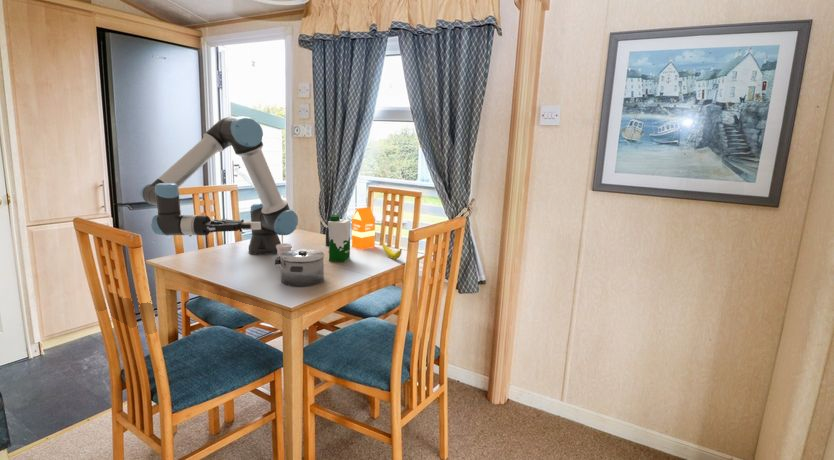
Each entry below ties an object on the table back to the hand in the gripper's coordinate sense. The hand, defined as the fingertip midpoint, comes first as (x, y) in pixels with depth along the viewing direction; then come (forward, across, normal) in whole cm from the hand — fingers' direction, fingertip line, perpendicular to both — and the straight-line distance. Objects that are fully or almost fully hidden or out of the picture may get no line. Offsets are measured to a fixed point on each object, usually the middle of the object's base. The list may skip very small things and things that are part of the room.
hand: (260, 225), depth 171 cm
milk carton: (+25, -30, -22) cm, 45 cm away
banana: (+48, -35, -23) cm, 64 cm away
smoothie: (+4, -16, -22) cm, 27 cm away
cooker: (+15, 0, -21) cm, 26 cm away
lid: (+15, 0, -12) cm, 20 cm away
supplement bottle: (+17, -58, -23) cm, 64 cm away
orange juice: (+33, -55, -23) cm, 68 cm away
